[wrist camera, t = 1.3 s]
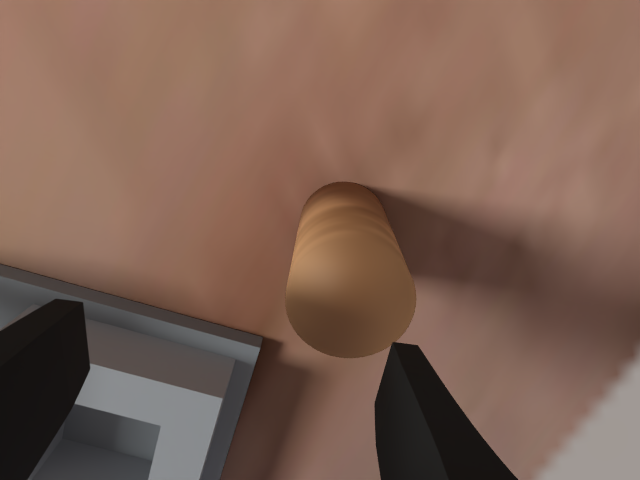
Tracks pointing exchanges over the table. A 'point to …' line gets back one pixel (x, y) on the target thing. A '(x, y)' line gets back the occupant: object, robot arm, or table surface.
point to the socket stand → (141, 387)
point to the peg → (348, 275)
